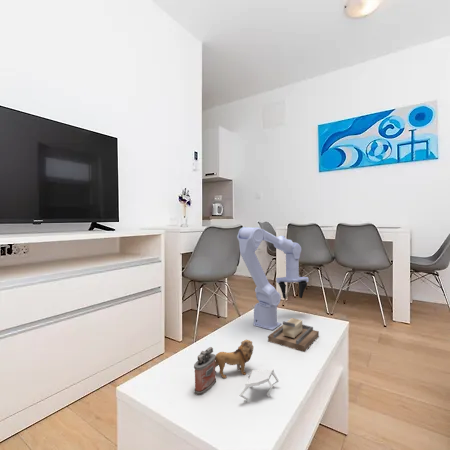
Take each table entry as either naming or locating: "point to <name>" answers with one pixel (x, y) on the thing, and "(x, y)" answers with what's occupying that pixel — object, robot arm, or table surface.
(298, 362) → the table surface
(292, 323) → the beige lidded box
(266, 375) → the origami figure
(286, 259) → the robot arm
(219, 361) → the lion figurine
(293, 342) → the dock
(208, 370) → the lighter
